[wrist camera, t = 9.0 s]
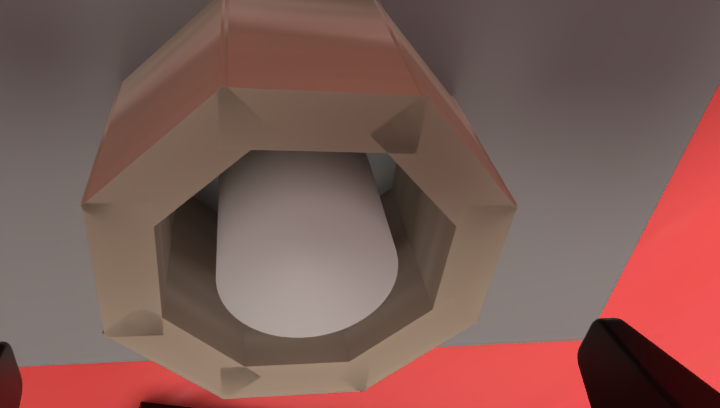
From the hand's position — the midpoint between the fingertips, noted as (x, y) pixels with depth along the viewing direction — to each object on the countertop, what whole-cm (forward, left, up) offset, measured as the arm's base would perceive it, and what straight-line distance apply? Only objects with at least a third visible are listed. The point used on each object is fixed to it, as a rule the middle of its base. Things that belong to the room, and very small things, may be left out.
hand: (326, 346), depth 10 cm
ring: (0, 0, -6) cm, 6 cm away
